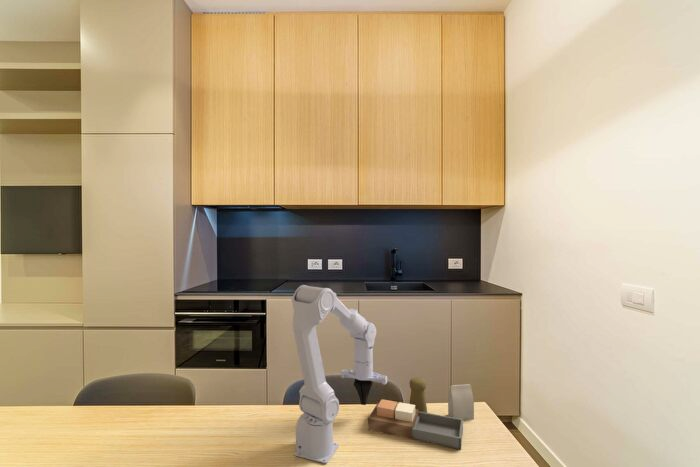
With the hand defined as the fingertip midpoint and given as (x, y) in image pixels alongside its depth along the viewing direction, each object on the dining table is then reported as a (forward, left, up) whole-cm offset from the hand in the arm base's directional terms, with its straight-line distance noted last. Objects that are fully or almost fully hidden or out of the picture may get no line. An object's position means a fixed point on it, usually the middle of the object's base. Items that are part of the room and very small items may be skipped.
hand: (364, 403), depth 106 cm
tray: (+22, 0, -5) cm, 23 cm away
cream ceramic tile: (+13, 0, -2) cm, 13 cm away
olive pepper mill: (+15, +9, -5) cm, 18 cm away
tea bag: (+28, +12, -5) cm, 31 cm away
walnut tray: (+9, 0, -5) cm, 11 cm away
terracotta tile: (+7, 0, -2) cm, 8 cm away
